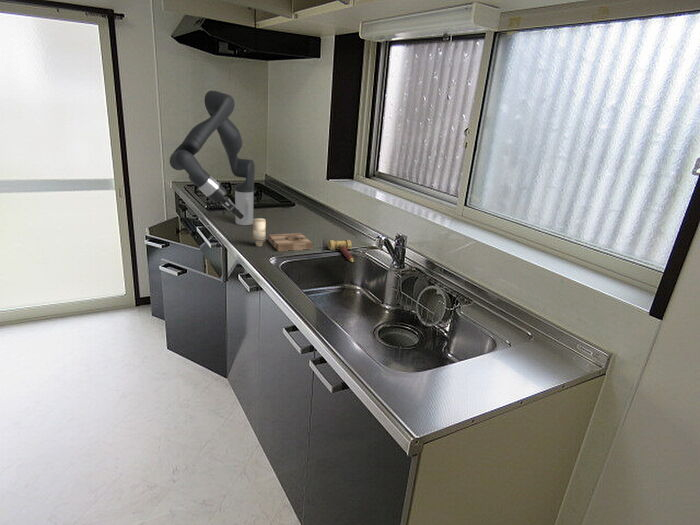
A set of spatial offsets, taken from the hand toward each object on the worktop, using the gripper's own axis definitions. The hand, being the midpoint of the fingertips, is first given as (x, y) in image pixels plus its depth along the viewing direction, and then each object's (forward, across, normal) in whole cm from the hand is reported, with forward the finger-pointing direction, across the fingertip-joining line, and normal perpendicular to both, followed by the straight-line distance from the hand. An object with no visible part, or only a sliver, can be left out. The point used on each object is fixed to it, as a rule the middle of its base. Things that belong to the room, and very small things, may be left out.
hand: (240, 215), depth 194 cm
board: (+26, -2, -6) cm, 27 cm away
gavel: (+41, -20, -20) cm, 49 cm away
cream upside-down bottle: (+16, 0, +4) cm, 17 cm away
